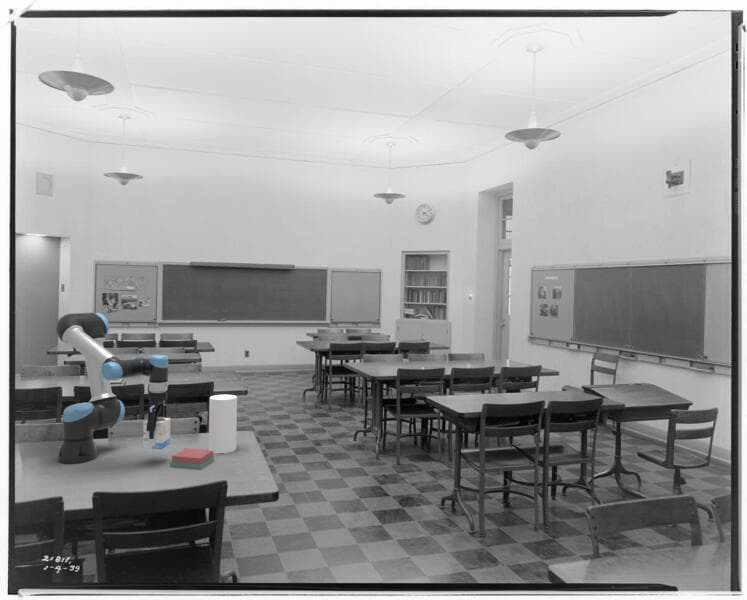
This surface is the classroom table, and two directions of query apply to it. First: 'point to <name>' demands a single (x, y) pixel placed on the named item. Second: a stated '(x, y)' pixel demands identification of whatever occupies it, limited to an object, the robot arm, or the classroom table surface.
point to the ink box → (158, 433)
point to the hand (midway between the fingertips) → (156, 442)
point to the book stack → (192, 458)
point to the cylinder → (222, 423)
